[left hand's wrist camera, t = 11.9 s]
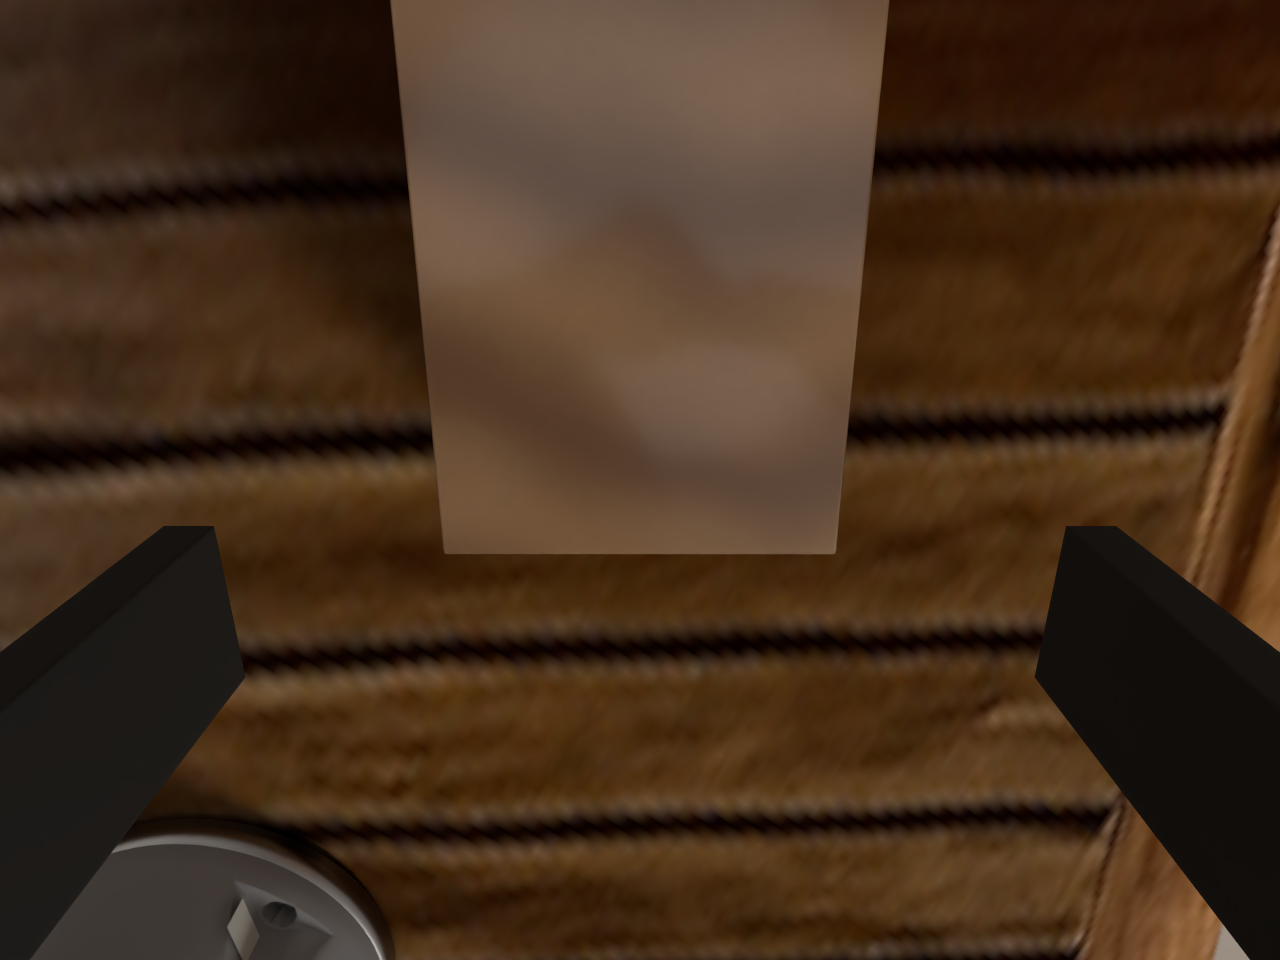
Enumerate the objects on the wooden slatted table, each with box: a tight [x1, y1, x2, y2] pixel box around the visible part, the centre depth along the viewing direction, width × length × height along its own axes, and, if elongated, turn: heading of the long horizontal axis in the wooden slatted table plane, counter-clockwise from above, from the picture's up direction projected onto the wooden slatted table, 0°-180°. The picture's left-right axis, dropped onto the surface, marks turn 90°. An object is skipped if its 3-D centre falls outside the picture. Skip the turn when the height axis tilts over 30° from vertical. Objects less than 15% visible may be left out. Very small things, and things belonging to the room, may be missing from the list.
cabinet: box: [390, 0, 889, 554], centre depth 21 cm, size 19×10×8 cm, turn 0°
